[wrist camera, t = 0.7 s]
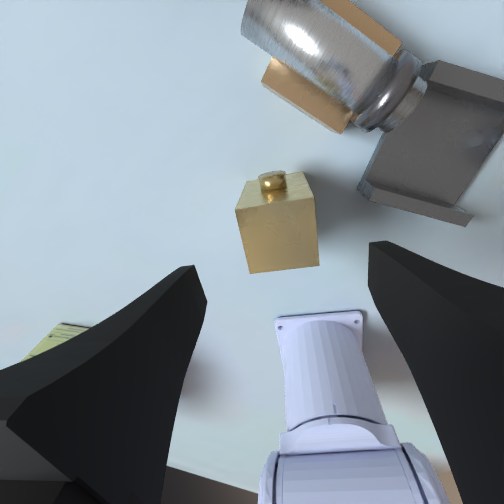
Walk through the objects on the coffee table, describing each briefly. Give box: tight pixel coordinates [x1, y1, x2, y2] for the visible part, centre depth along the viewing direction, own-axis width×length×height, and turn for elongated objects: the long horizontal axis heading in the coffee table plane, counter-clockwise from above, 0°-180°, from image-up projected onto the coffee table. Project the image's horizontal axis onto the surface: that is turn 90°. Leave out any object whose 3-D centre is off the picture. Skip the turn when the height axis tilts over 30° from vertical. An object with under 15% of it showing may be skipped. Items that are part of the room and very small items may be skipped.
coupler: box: [235, 171, 319, 274], centre depth 16 cm, size 6×4×6 cm
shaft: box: [241, 0, 427, 134], centre depth 12 cm, size 8×4×6 cm, turn 61°
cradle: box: [357, 60, 504, 227], centre depth 15 cm, size 6×7×3 cm
